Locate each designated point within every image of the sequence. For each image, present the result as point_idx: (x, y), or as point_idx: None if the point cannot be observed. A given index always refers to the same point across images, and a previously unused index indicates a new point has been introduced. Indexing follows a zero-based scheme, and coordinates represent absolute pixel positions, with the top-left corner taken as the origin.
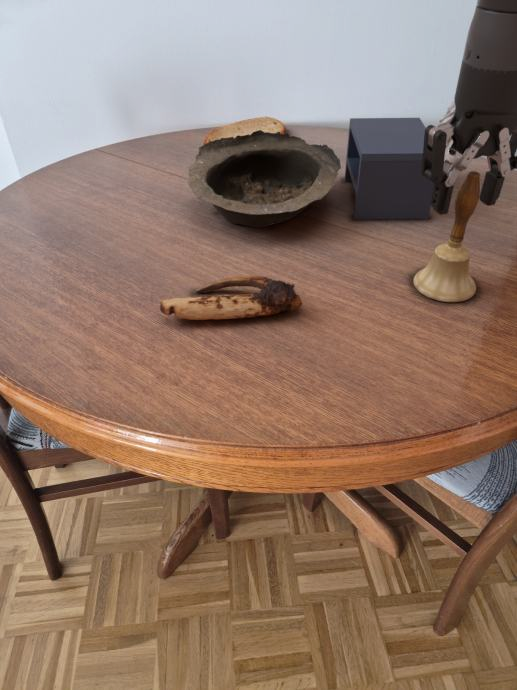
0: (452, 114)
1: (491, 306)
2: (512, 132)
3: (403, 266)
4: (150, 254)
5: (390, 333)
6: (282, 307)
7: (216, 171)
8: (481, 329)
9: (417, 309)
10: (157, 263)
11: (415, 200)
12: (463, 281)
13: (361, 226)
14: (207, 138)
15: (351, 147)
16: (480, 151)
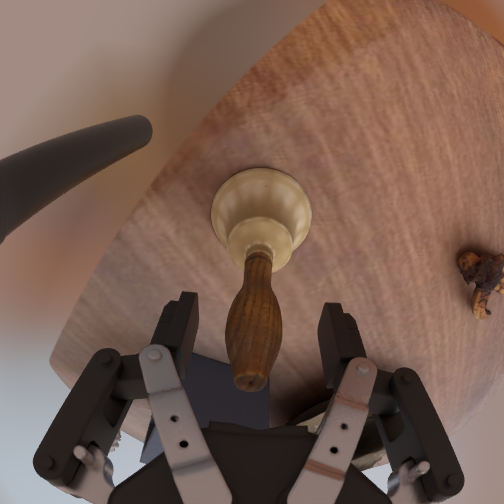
0: None
1: (227, 138)
2: (140, 476)
3: (284, 279)
4: (467, 368)
5: (411, 159)
6: (488, 255)
7: (373, 447)
8: (287, 97)
9: (342, 184)
10: (474, 356)
11: (193, 376)
12: (255, 193)
13: None
14: None
15: None
16: (277, 445)
